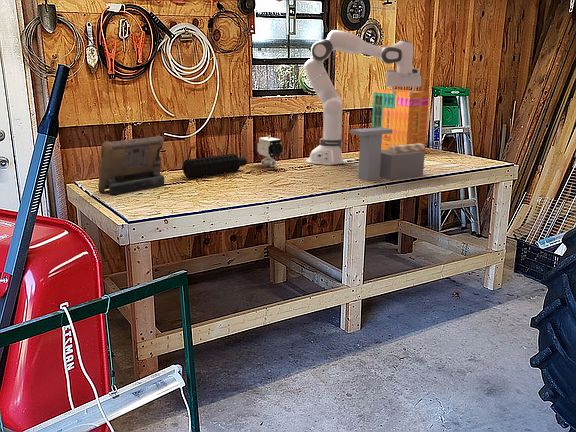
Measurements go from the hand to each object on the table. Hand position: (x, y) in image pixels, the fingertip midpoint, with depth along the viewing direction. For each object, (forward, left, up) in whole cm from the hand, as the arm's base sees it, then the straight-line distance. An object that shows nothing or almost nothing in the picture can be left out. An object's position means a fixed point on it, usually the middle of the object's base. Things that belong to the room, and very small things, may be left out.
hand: (402, 94), depth 329 cm
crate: (-1, -31, -41) cm, 52 cm away
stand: (-16, -44, -41) cm, 62 cm away
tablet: (-127, -91, -41) cm, 162 cm away
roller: (-98, -49, -42) cm, 117 cm away
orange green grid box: (0, +53, -41) cm, 67 cm away
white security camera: (-75, -22, -41) cm, 88 cm away
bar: (+3, -28, -28) cm, 40 cm away
